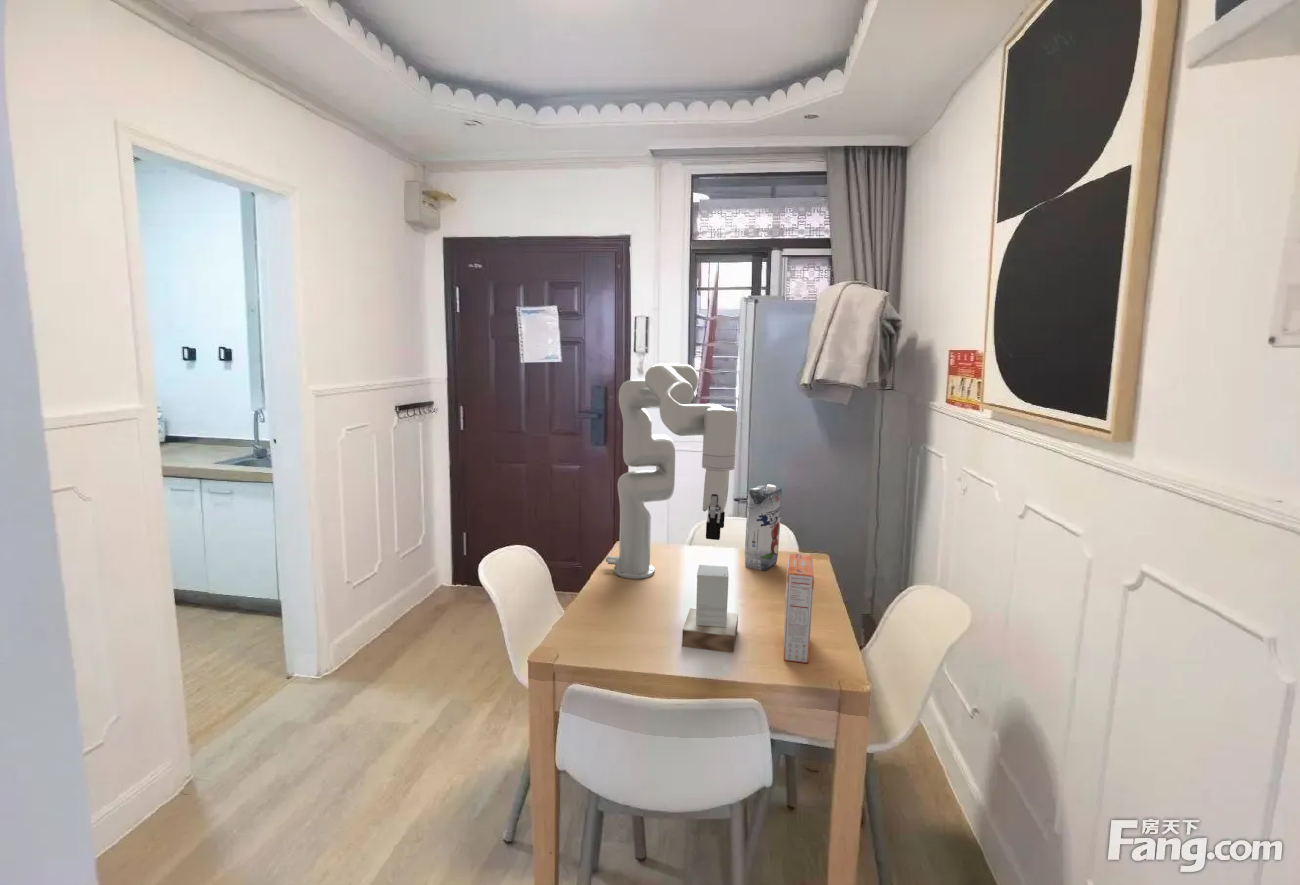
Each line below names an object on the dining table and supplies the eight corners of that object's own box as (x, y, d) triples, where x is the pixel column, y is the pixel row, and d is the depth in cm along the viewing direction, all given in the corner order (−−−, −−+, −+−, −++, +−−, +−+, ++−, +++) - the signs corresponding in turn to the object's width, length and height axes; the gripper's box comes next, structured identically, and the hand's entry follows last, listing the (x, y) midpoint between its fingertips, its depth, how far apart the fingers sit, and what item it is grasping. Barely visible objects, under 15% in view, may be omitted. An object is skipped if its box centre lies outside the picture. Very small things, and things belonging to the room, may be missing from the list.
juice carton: (740, 567, 200) (745, 485, 196) (755, 558, 209) (759, 479, 204) (766, 573, 195) (771, 489, 191) (780, 564, 204) (785, 483, 199)
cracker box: (782, 633, 154) (788, 552, 151) (808, 637, 153) (814, 555, 149) (781, 661, 140) (787, 572, 137) (809, 665, 139) (815, 575, 136)
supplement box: (726, 615, 154) (729, 566, 152) (726, 628, 146) (728, 576, 144) (696, 612, 154) (698, 563, 153) (694, 625, 147) (696, 574, 145)
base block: (681, 646, 146) (682, 629, 145) (689, 624, 158) (690, 608, 157) (733, 652, 144) (734, 635, 143) (737, 630, 155) (738, 613, 155)
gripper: (706, 454, 153) (703, 521, 156) (697, 467, 136) (694, 542, 139) (737, 456, 152) (734, 524, 154) (731, 469, 135) (727, 545, 138)
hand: (715, 533), depth 147 cm, fingers open, 9 cm apart
